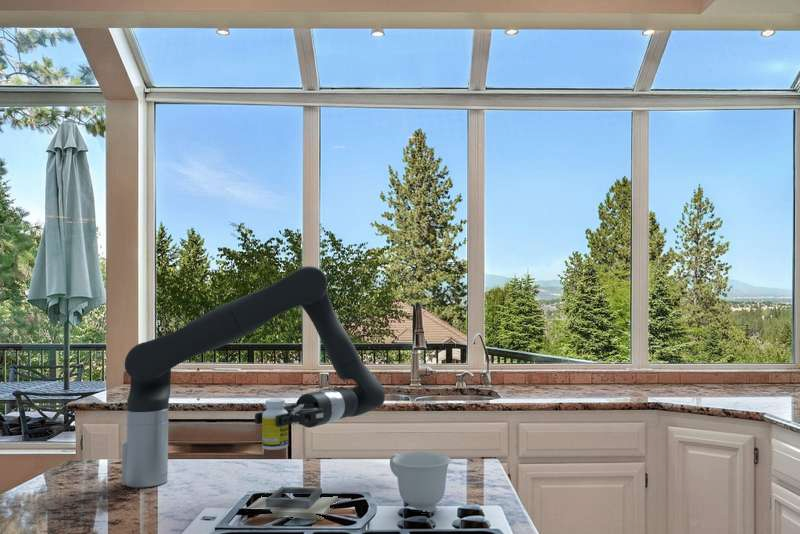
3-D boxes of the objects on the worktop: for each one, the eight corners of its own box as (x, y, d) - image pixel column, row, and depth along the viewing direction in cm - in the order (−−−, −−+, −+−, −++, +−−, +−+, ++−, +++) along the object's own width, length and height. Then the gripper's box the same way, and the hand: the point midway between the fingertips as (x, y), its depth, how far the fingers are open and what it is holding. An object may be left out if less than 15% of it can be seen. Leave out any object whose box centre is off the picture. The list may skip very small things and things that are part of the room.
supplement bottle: (283, 450, 129) (282, 402, 129) (258, 450, 130) (257, 402, 130) (292, 444, 134) (291, 398, 135) (268, 444, 135) (267, 398, 136)
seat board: (244, 516, 124) (244, 502, 125) (270, 495, 138) (270, 482, 138) (322, 519, 122) (322, 505, 122) (341, 498, 136) (341, 485, 136)
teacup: (411, 493, 138) (411, 447, 139) (464, 508, 128) (463, 458, 129) (370, 506, 130) (370, 456, 131) (423, 523, 119) (422, 469, 120)
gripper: (297, 389, 148) (242, 399, 134) (344, 393, 140) (291, 404, 126) (297, 421, 148) (242, 435, 134) (345, 427, 140) (292, 442, 126)
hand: (266, 420), depth 130 cm, fingers closed on supplement bottle, 5 cm apart
